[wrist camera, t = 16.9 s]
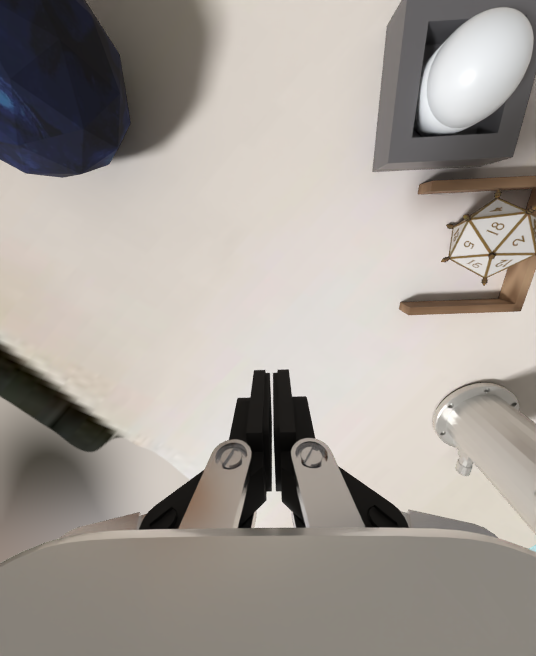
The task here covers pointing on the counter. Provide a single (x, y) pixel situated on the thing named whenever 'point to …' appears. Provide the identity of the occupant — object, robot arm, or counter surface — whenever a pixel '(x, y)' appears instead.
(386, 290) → the counter surface
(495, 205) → the game die
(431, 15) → the dome base
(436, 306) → the walnut bay
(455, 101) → the dome
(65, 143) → the decorative orb
